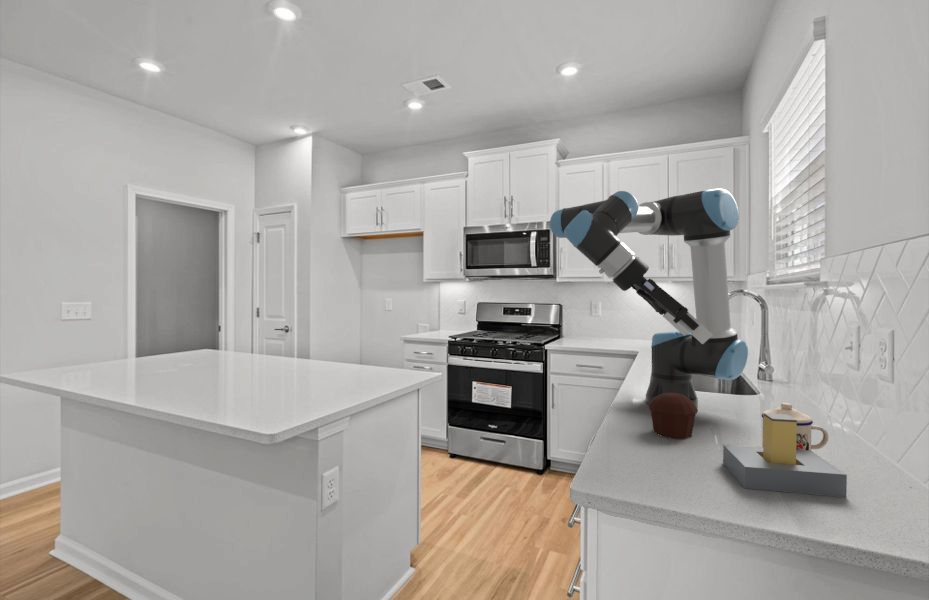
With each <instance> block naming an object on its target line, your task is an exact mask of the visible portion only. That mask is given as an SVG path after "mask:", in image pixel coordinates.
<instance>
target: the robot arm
mask: <svg viewBox="0 0 929 600" xmlns="http://www.w3.org/2000/svg"><path fill="white" fill-rule="evenodd" d="M739 215H740V213H739V208H738V204H737V202H736V200H735V197H734V196H733V195H732V194H731V192H730V191H728V190H727V189H724V188H712V189H704V190H701V191H696V192H695V191H694V192H690V193H685V194H681V195H673V196H670V197H666V198H663V199H658V200H654V201H646V202H641V203H640V204H639V202H638V200H637V198H636V197H635V196H634V195H633V194H632V193H631V192H629V191H626V190H620V191H619V190H618V191H616V192H615V193H613V194H610V196H608V198H607V199H605V200H601V201H595V202H592V203H587V204H586V203H585V204H582V205H578V206H571V207H564V208H562V209H558V210H555V211H554V212H553V213H552V215H551V217H550V221H549V224H550V230H551V232H552V234H553V235H554V236H555V237H557V238H559V239H563V238H564V239H565V238H566V239H567V240H568V241H569V242H570V243H571V245H572V246H573V247H574V248H576V249H577V250H578V251H579V252H580V253H581V254H582V255H584V256H585V258H587V259H588V261H590V262H592V264H594V266H595V267H597V268H598V269H599V270H598V273H599V274H600V275H602V274H603V273H604V274H605V275H606V276H607V277H608V278H610V279H611V278H613V279H612V282H613V284H615V285H616V286H617V287H619V288H620V290H621V291H624V292H626V291H628V290H630V289H631V288H632V290H635V293H636V294H637V295H638V296H639V297H640V298H642V299H643V300H644V301H646V303H648V305H650V306H651V308H652V309H654V311H655V312H656V313H658V314H659V315H660V316H662V318H664V319H665V320H666V321H667V322H668V323H670V324H671V326H673V327H674V328H675V329H676V331H666V332H665V331H663V332H657V333H654V334H653V335H652V338H651V347H650V349H651V379H650V381H649V385H648V388H647V390H646V393H645V403H646V404H648V403H650V402H651V401H652V399H653V398H655V397H656V396H658V395H660V394H663V393H678V394H682V395H684V396H686V397H688V398H689V399H690V400H692V402H693V403H694V404H695V406H696V408H697V409H698V406H699V400H698V399H699V398H698V396H697V392H696V390H695V387H694V383H693V379H692V377H693V375H694V376H701V377H706V378H712V379H717V380H726V381H727V380H728V381H732V380H735V379H737V378H738V377H740V376H741V375H742V373H743V372H744V369H745V368H746V365H747V361H748V356H749V349H748V345H747V343H746V341H744V340H742V339H739V338H738V331H737V330H736V329H735V328H733V327H732V326H731V313H730V312H731V311H730V301H729V300H730V298H729V287H728V271H727V259H726V258H727V256H726V245H725V243H726V242H727V241H728V239H729V238H730V237H731V231H733V230H734V229H735V228H737V226H738V223H739V222H738V221H739V218H740V216H739ZM625 233H627V234H628V233H639V235H644V236H648V235H651V236H653V235H654V236H671V237H672V236H674V237H675V236H683V242H684V243H685V244H686V245H688V246H689V247H690V258H691V271H692V282H693V283H692V284H693V296H694V306H695V307H694V309H695V317H694V316H693V314H691V313H690V312H689V309H688V308H687V307H685V306H684V305H683V304H682V303H680V302H679V301H677V299H675V298H674V297H673V296H671V295H670V294H669V293H668V292H666V290H664V289H663V288H662V287H661V286H659V285H658V284H657V283H656V282H655V280H653V279H651V278H648V279H647V278H646V277H645V276H644V275H645V274H647V273H648V271H649V265H648V264H647V263H645V262H644V260H642V259H641V258H640V257H639V256H635V252H634V251H633V250H632V249H631V248H629V247H628V246H627V244H625V243H624V242H623V241H621V240H620V239H619V238H618V237H617V236H618V235H619V234H625Z"/></svg>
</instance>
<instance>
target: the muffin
mask: <svg viewBox="0 0 929 600" xmlns="http://www.w3.org/2000/svg"><path fill="white" fill-rule="evenodd" d="M647 404H648V403H647ZM647 407H648V409H649V410H650V415H651V423H652V429H654V430H653V432H654V434H655V433H656V434H655V435H658V434H659V435H658V436H660V435H661V436H660V437H662V438H667V439H668V438H669V439H674V440H679V439H681V440H686V439H688V438H692V436H693V430H694V425H695V421H696V415H697V413H698V412H699V410H698V407H697V408H696V406H695V404H694V403H693V402H692V400H690V399H689V398H688V397H686V396H684V395H682V394H678V393H663V394H660V395H658V396H656V397H655V398H653V399H652V401H651V402H650V403H649V404H648V405H647Z"/></svg>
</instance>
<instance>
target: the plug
mask: <svg viewBox="0 0 929 600" xmlns="http://www.w3.org/2000/svg"><path fill="white" fill-rule="evenodd" d="M796 436H797V420H796V419H794V418H792V417H790V416H789V415H787V414H771V413H764V426H763V425H762V438H763V458H764V459H765V460H766V461H767V462H768V463H777V464H790V465H796Z"/></svg>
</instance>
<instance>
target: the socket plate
mask: <svg viewBox="0 0 929 600" xmlns="http://www.w3.org/2000/svg"><path fill="white" fill-rule="evenodd" d="M722 446H723V449H722V451H723V452H722V455H723V456H722V464H723V465H724V466H725V467H726V469H728V471H729V472H730V473H731V474H732V476H734V478H736V480H737V481H738V482H739V484H740V485H741V486H742V487H743V488H744V489H748V490H749V489H750V490H762V491H771V492H773V491H774V492H783V493H795V494H805V495H806V494H807V495H817V496H826V497H827V496H830V497H839V498H840V497H841V498H847V492H848V491H847V484H848V483H847V479H848V477H847V476H848V474H847V473H845V472H843V471H842V470H841V469H840V468H838V467H836V466H835V465H833V464H831V462H829V461H827V460H826V459H824V458H823V457H821V456H820V455H818V454H817V453H815V452H814V451H812V450H811V451H810V450H796V465H790V464H777V463H768V462H767V461H766V460H765V459H764V458H763V447H762V446H749V445H733V444H723V445H722Z"/></svg>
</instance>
